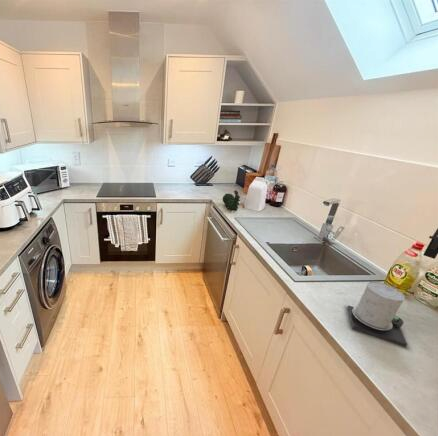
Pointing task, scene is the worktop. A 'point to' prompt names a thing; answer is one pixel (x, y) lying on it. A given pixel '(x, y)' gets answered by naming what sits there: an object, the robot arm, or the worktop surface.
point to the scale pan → (371, 325)
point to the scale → (389, 335)
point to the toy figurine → (231, 201)
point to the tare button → (395, 318)
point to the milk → (256, 195)
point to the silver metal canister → (379, 304)
